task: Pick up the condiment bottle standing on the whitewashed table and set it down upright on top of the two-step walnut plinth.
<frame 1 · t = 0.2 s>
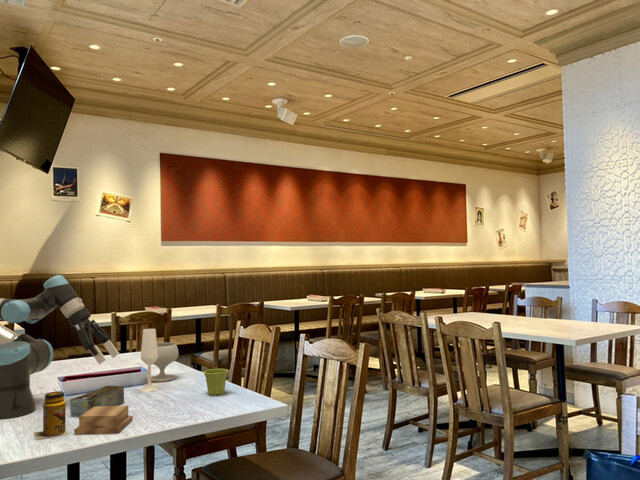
hand: (109, 358, 197), 15 cm above the table, tool tilted 35°, fingers open, 13 cm apart
condiment: (51, 434, 159), on the table
beverage carton: (98, 410, 185), on the table
plant pot: (216, 394, 204), on the table
chalice: (162, 379, 231), on the table
champagne flute: (149, 390, 212), on the table
walnut plinth: (104, 427, 164), on the table
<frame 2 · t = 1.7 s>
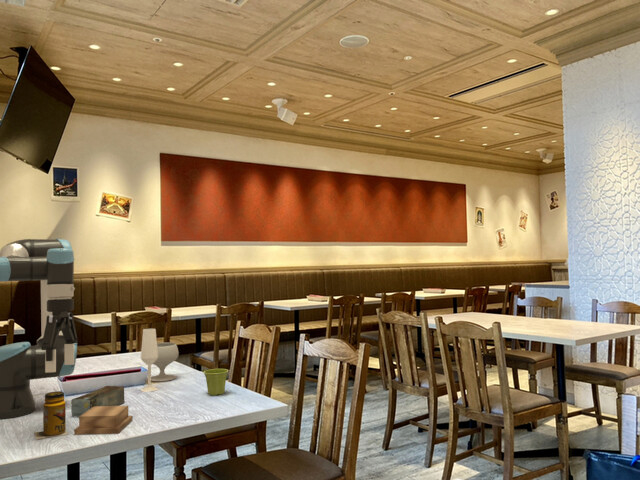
hand: (60, 368, 162), 19 cm above the table, tool pointing down, fingers open, 13 cm apart
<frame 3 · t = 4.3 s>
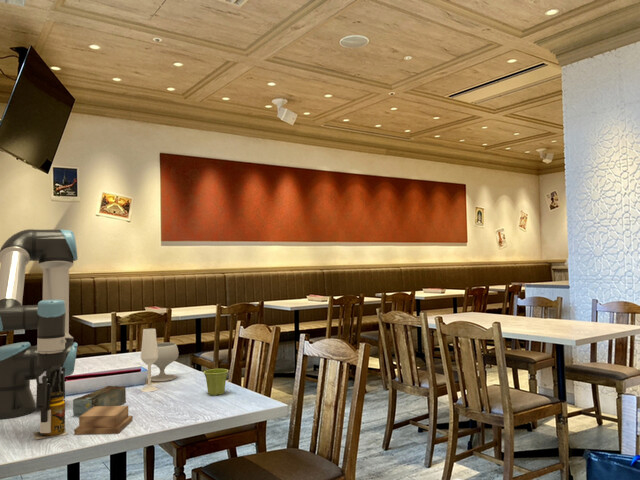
hand: (51, 428, 159), 1 cm above the table, tool pointing down, fingers closed on condiment, 6 cm apart
condiment: (50, 434, 159), on the table, touching gripper
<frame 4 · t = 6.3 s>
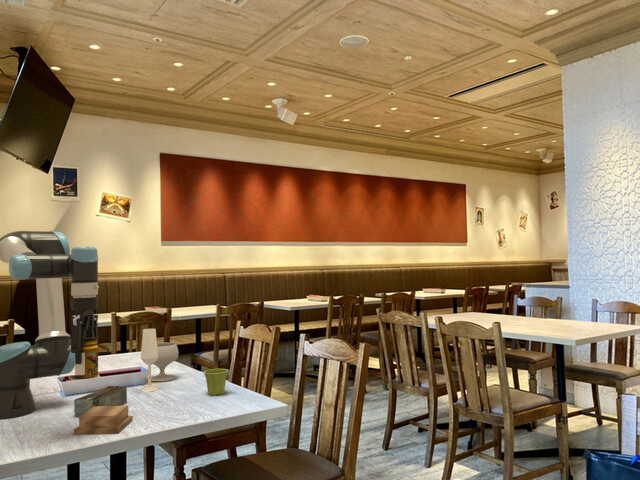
hand: (85, 372, 162), 17 cm above the table, tool pointing down, fingers closed on condiment, 6 cm apart
condiment: (84, 378, 162), point 16 cm above the table, touching gripper
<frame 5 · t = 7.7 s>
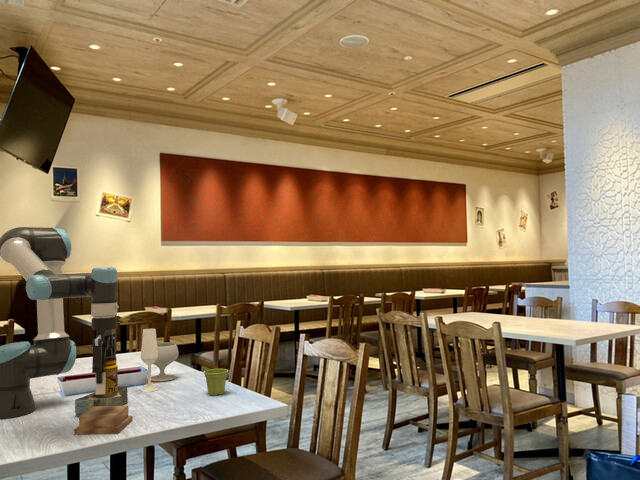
hand: (104, 391, 165), 11 cm above the table, tool pointing down, fingers closed on condiment, 6 cm apart
condiment: (104, 396, 164), point 9 cm above the table, touching gripper
when the fingers open (8 cm above the table, at t = 8.6 s): condiment drops 1 cm, resting on walnut plinth.
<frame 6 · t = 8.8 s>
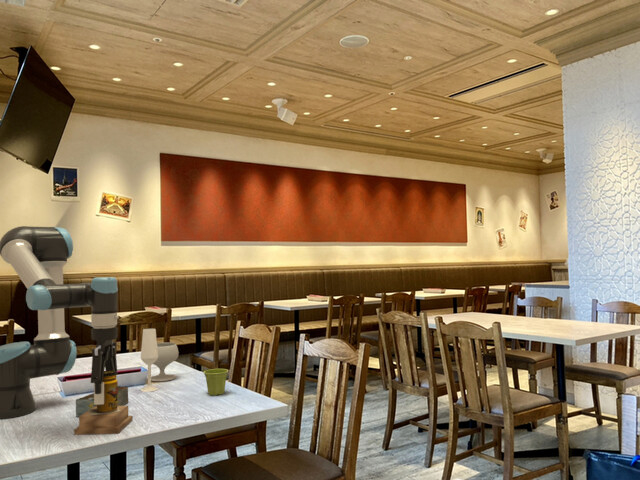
hand: (104, 400, 165), 8 cm above the table, tool pointing down, fingers open, 8 cm apart
condiment: (104, 411, 164), point 5 cm above the table, touching walnut plinth
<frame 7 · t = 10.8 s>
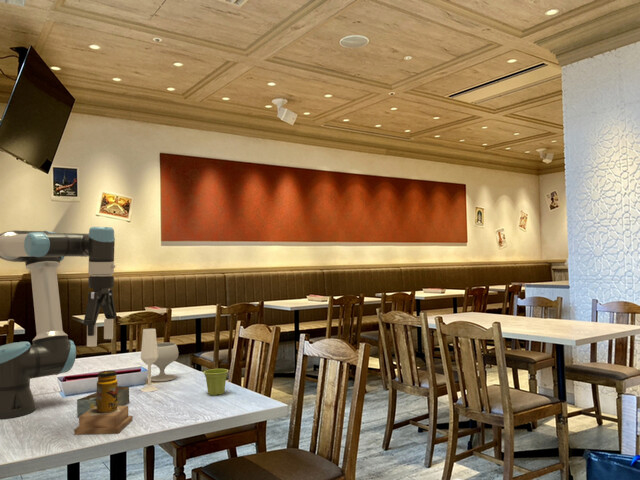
hand: (100, 342, 168), 26 cm above the table, tool pointing down, fingers open, 13 cm apart
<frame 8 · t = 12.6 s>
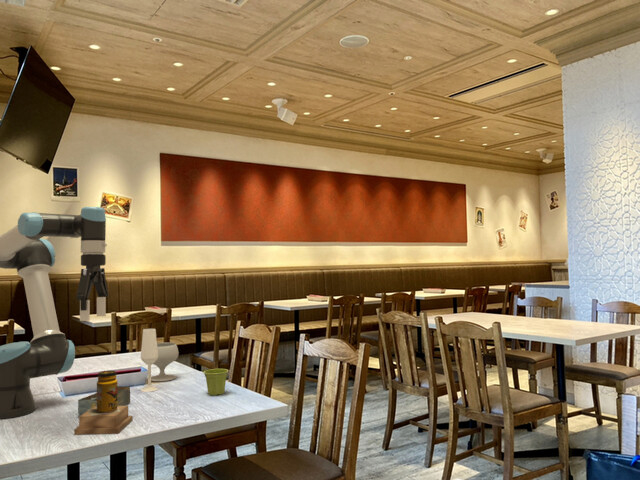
hand: (93, 318, 174), 33 cm above the table, tool pointing down, fingers open, 13 cm apart
at the end: condiment 0.4 cm from the walnut plinth (horizontally); condiment point 4.8 cm above the table; condiment tilted 0° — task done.
